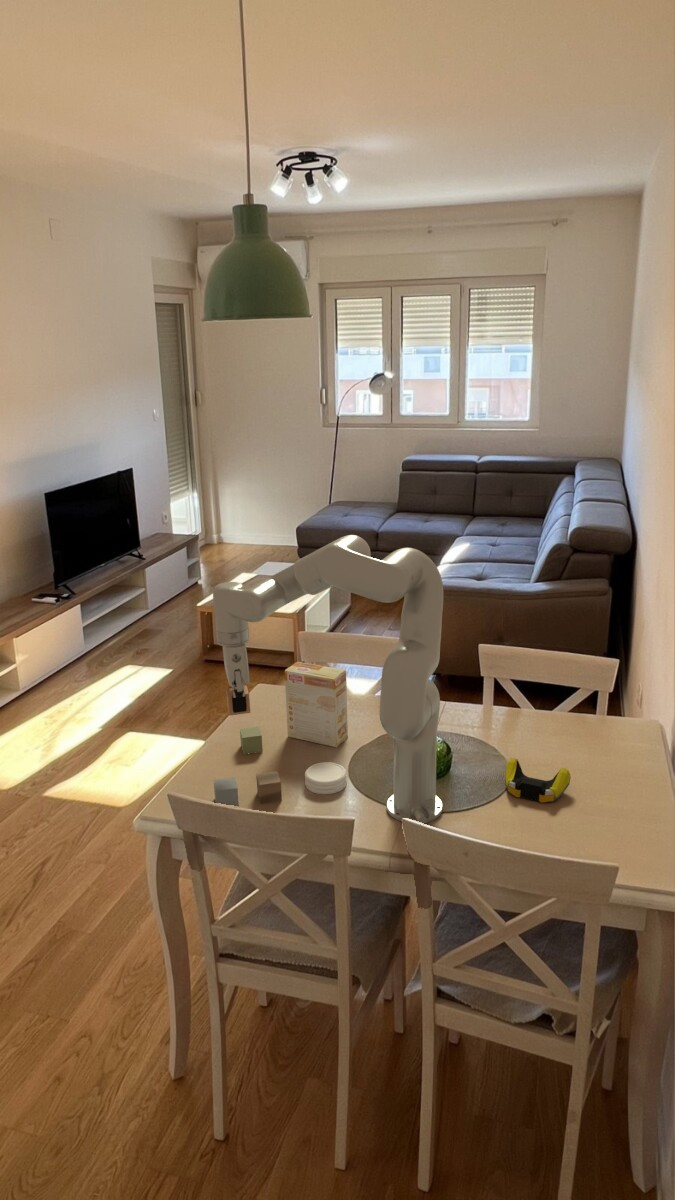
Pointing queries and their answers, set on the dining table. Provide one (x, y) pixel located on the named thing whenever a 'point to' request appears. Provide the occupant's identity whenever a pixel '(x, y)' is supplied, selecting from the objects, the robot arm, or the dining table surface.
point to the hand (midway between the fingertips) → (238, 705)
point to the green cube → (251, 740)
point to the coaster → (325, 778)
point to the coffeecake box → (316, 703)
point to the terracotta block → (229, 701)
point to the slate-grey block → (226, 791)
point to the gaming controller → (535, 783)
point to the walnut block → (269, 787)
